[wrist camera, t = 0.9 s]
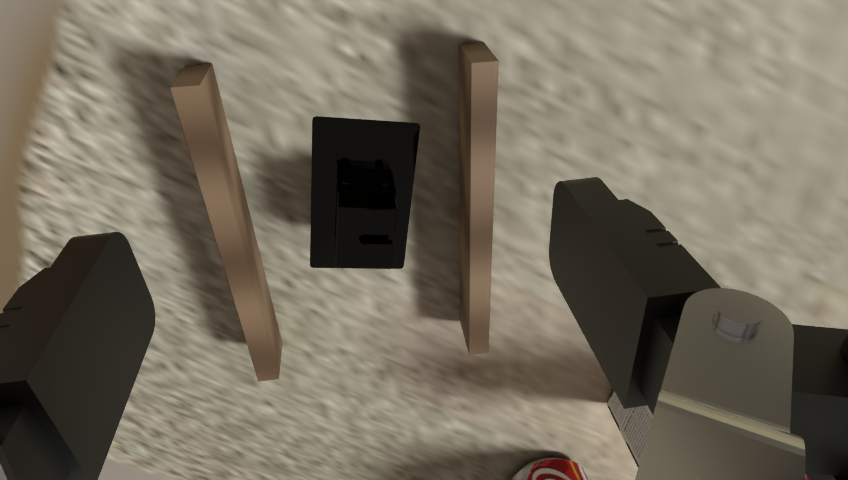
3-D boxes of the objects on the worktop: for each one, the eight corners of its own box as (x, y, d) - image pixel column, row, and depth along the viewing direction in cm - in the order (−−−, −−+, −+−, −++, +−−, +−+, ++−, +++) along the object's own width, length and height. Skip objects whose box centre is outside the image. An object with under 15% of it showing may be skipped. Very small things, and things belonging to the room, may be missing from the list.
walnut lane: (185, 65, 26) (170, 87, 24) (483, 42, 27) (498, 60, 25) (263, 345, 36) (258, 381, 34) (478, 319, 38) (488, 352, 35)
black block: (411, 281, 36) (420, 332, 32) (293, 279, 35) (288, 333, 31) (437, 91, 29) (453, 128, 25) (291, 80, 28) (284, 118, 24)
